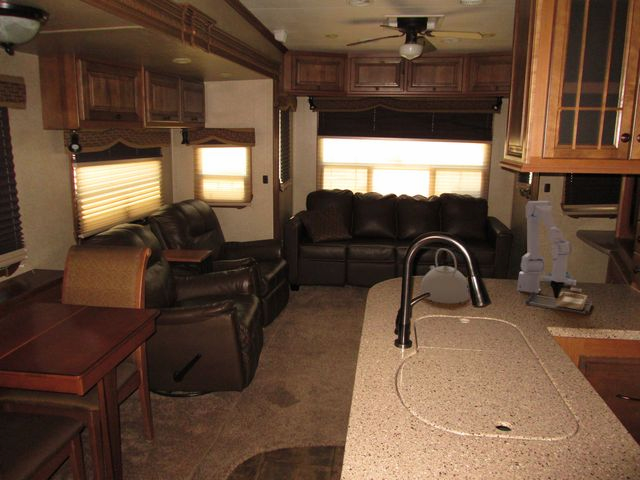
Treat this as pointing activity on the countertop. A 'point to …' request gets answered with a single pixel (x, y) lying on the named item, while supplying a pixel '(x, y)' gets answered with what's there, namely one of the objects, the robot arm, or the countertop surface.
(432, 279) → the kettle
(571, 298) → the shallow wooden tray
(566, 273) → the gear
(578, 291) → the part block
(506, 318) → the countertop surface
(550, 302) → the rail base
